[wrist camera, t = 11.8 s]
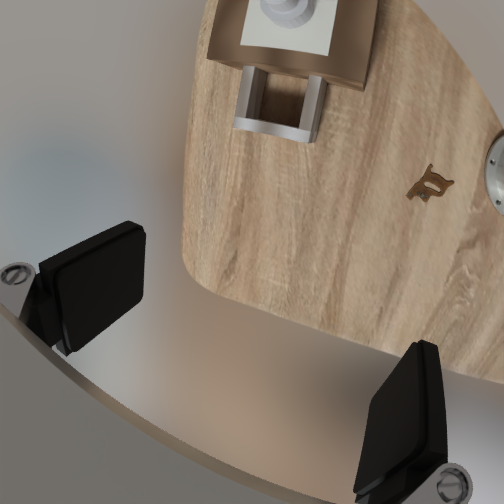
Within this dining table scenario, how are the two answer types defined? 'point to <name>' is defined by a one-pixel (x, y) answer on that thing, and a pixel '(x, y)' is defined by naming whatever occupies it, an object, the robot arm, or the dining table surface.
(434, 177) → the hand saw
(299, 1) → the bolt
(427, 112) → the dining table surface
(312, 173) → the dining table surface
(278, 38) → the lid mat
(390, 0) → the dining table surface
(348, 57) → the wooden box
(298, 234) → the dining table surface
